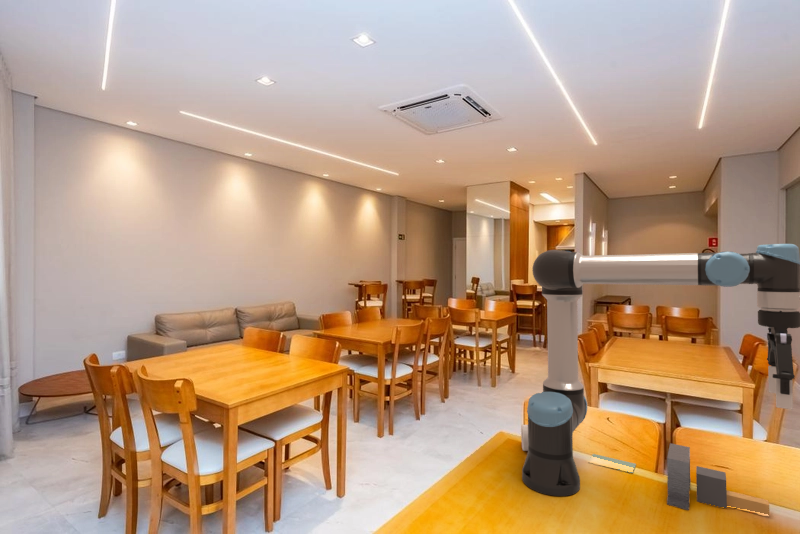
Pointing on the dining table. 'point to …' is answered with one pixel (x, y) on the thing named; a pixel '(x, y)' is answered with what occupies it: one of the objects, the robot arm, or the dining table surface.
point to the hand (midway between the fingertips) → (780, 400)
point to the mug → (524, 437)
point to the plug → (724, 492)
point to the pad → (616, 461)
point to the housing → (678, 476)
